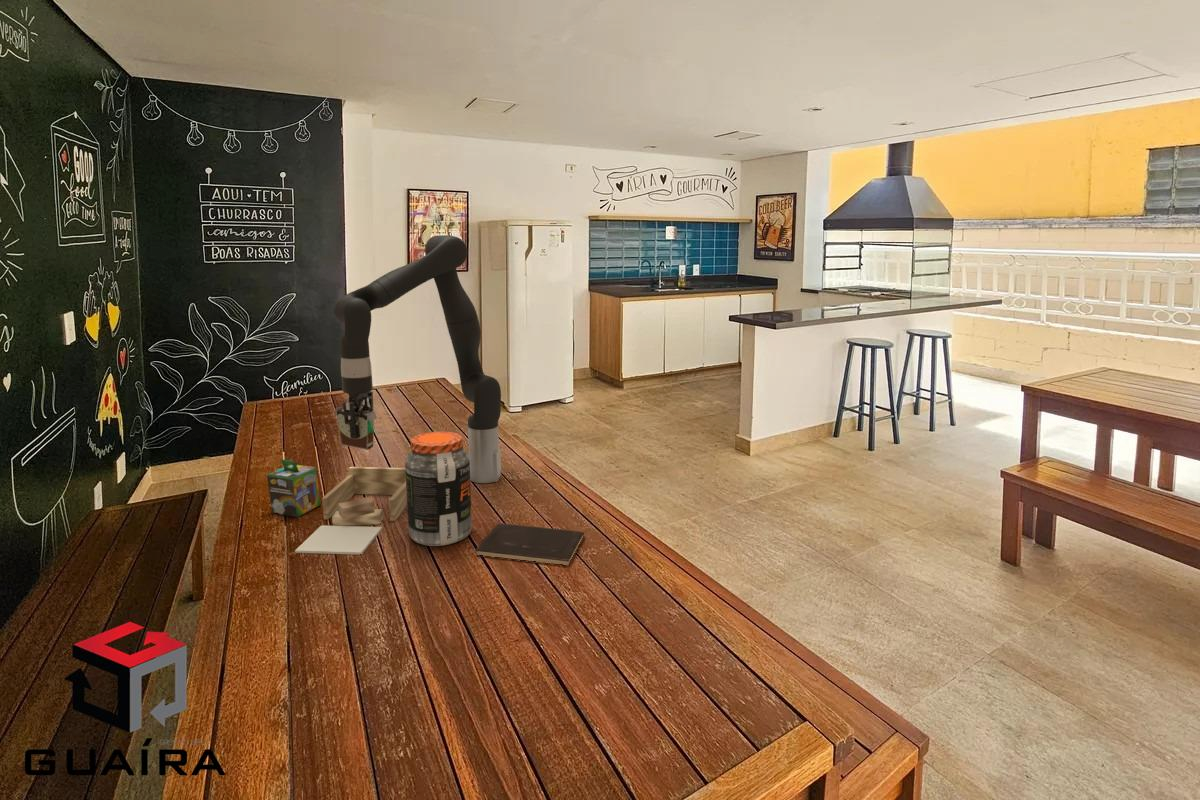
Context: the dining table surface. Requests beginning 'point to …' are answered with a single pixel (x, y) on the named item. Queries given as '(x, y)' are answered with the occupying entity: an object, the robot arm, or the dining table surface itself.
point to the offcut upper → (356, 507)
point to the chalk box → (293, 489)
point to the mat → (339, 540)
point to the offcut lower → (359, 519)
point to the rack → (369, 488)
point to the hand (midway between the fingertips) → (360, 434)
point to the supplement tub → (438, 489)
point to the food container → (364, 428)
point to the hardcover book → (531, 543)
